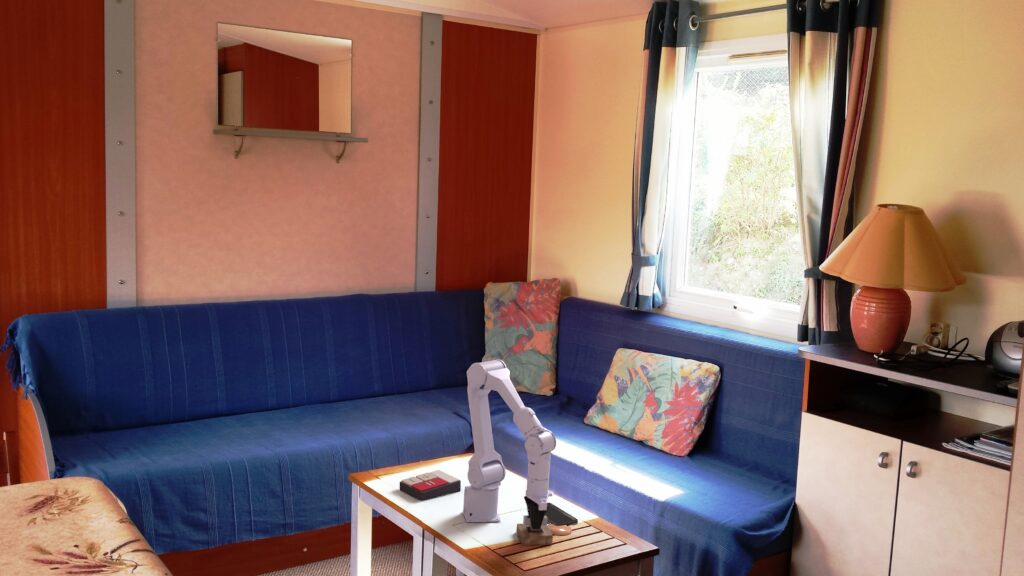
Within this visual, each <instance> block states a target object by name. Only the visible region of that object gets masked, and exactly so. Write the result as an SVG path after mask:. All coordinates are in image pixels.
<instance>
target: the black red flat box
mask: <svg viewBox="0 0 1024 576" xmlns="http://www.w3.org/2000/svg"><path fill="white" fill-rule="evenodd" d="M461 487H462V481H461V480H460V479H458V478H457V477H454V476H453V475H450V474H449V473H446V472H444V471H442V470H440V469H436V470H434V471H431V472H424V473H421V474H417V475H415V476H411V477H408V478H404V479H401V480H400V481H399V491H400V492H403V493H404V494H406V495H408V496H409V497H411V498H414V499H416V500H417V501H419V502H424V501H428V500H432V499H436V498H439V497H442V496H446V495H451V494H452V495H453V494H455V493H459V492H461V491H462V488H461Z"/></svg>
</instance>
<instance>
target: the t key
mask: <svg viewBox="0 0 1024 576" xmlns="http://www.w3.org/2000/svg"><path fill="white" fill-rule="evenodd" d="M522 522H523V523H522V524H524V525H525V526H529V533H540V531H541V528H540V529H533V528H532V525H531V515H528V514H527V515H523V519H522ZM542 525H548V522H547V516H546V515H545V516H544V519H543V522H542Z"/></svg>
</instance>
